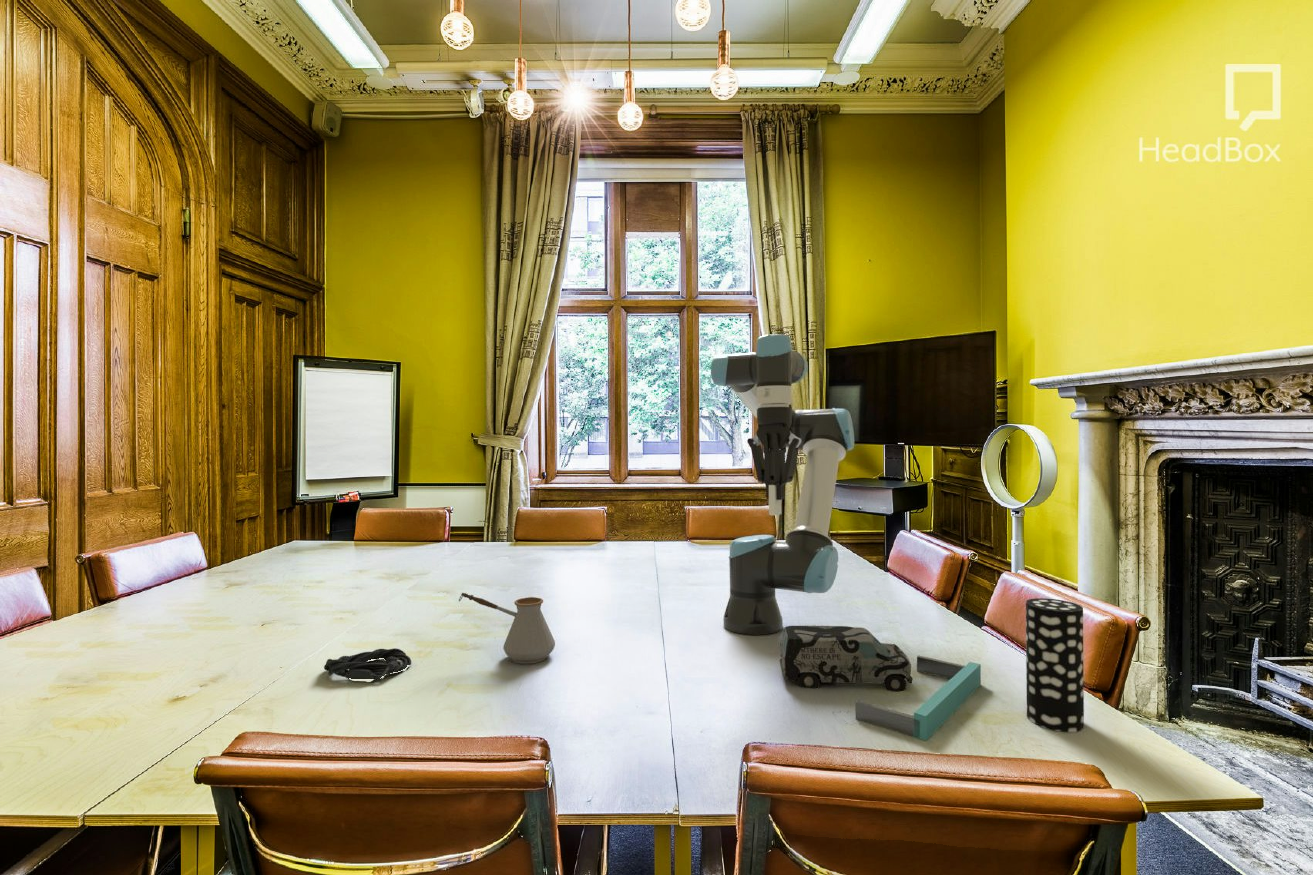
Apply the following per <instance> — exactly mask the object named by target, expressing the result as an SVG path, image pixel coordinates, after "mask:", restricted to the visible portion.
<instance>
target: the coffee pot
mask: <svg viewBox="0 0 1313 875" xmlns="http://www.w3.org/2000/svg"><path fill="white" fill-rule="evenodd" d="M460 594H461V595H460V597H459V598H458V602H461V601H462V599H463V598H467V599H468V600H469V601H474V602H475V603H477V604H479V605H482V606H484V607H488V608H491V609H494V610H498V611H500V612H502V613H505V614H507V615H509V616H512V617H514V618H513V622H512V624H511V627H510V628H509V631H508V634H507V636H506V639H505V641H504V644H503V648H502V650H503V651H504V653H505V654H506V656H507V657H508V658H509V659H510V660H512V661H513V662H514V663H517V664H522V665H527V664H536V663H540V662H543V661H544V660H546V659H547V657H548V656H549V655H550V654H551V653H552V652H553V651H554V649H555V646H556V642H555V641H556V640H555V639H554V636H553V635H552V632H551V630H550V627H549V625H548V623H547V621H546V618H545V617H544V614H543V612H542V609H541V607H542V604H543V603H544V599H543V598H541V597H534V596H529V597H524V598H519V599H516V600H514V605H515V606H516V610H517V612H516V611H513V610H510V609H507V608H504V607H502V606H499V605H497V604H495V603H493V602H491V601H488V600H486V599H484V598H481V597H477V596H474V595H473V594H471V595H470V594H468V593H466V592H461V593H460Z"/></svg>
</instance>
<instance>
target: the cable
mask: <svg viewBox="0 0 1313 875" xmlns="http://www.w3.org/2000/svg"><path fill="white" fill-rule="evenodd" d="M379 658H384V659H385V660H386V661H387V662H386V661H385V662H386V663H382V662H381V663H379V662H378V663H377V662H374V663H373V662H366V661H368V660H371V659H377V660H380V659H379ZM411 659H412V658H411V657H410V656H409V655H407V654H406V652H405V651H404V650H402V649H400V648H394V647H393V648H389V649H388V648H387V649H386V648H376V649H374V650H373V651H363V652H359V653H356V654H353V655H342V656H340V657H338V659H334V658H333V659H332V658H328V659H326V662H325V664H324V666H323V668H324V671H328V675H335V676H339V677H342V678H346V679H347V678H348V679H349V678H351V679H380V678H381V677H382V676H384V675H385V674H390V673H393V672H398V671H401V670H403V669H405V668H406V667H407V665H412V660H411ZM385 676H386V675H385ZM348 679H347V680H348Z"/></svg>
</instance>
